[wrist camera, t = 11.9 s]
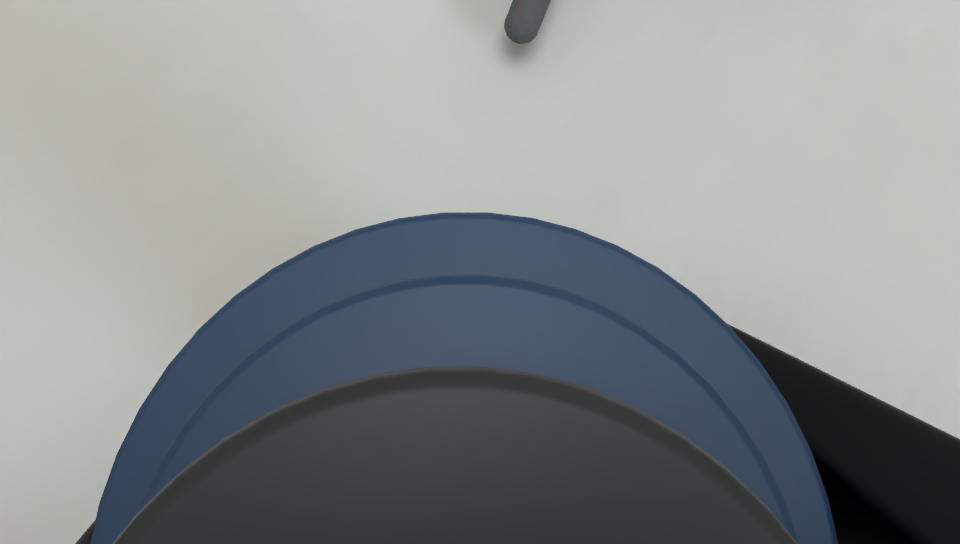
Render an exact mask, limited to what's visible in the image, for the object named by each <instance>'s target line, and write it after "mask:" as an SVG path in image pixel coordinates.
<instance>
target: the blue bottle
mask: <svg viewBox="0 0 960 544" xmlns="http://www.w3.org/2000/svg"><path fill="white" fill-rule="evenodd" d="M90 544H838V540H837V535H836V531H835V526H834V522H833V518H832V513H831V509H830V504H829V500H828V497H827V494H826V491H825V488H824V485H823V483H822V480H821V477H820V474H819V471H818V469H817V466H816V463H815V460H814V457H813V455H812V452H811V449H810V447H809V445H808V443H807V441H806V439H805V437H804V435H803V433H802V431H801V429H800V427H799V425H798V423H797V421H796V419H795V417H794V415H793V413H792V411H791V409H790V407H789V405H788V403H787V402H786V400H785V399H784V397H783V396H782V394H781V393H780V391H779V390H778V388H777V387H776V385H775V384H774V382H773V381H772V379H771V378H770V376H769V375H768V373H767V372H766V370H765V369H764V367H763V365H762V364H761V363H760V361H759V360H758V359H757V358H756V357H755V356H754V354H753V353H752V352H751V351H750V350H749V348H748V347H747V346H746V345H745V344H744V343H743V341H742V340H741V339H740V338H739V337H738V336H737V334H736V333H735V332H734V331H733V330H732V328H731V327H730V326H729V325H728V324H727V323H726V322H724V321H723V320H722V319H721V318H720V317H719V316H718V315H717V314H716V313H715V312H714V311H713V310H711V309H710V308H709V307H708V306H707V305H706V304H705V303H704V302H703V301H702V300H701V299H700V298H698V297H697V296H696V295H695V294H694V293H692V292H691V291H690V290H688V289H687V288H685V287H684V286H683V285H681V284H680V283H678V282H677V281H676V280H674V279H673V278H671V277H670V276H669V275H667V274H666V273H665V272H663V271H662V270H660V269H659V268H658V267H656V266H654V265H652V264H650V263H648V262H647V261H645V260H643V259H641V258H639V257H637V256H636V255H634V254H632V253H630V252H628V251H626V250H625V249H623V248H621V247H619V246H617V245H615V244H612V243H609V242H607V241H604V240H602V239H599V238H597V237H594V236H592V235H589V234H587V233H584V232H581V231H579V230H576V229H573V228H569V227H565V226H561V225H557V224H553V223H549V222H545V221H541V220H538V219H534V218H527V217H519V216H511V215H503V214H495V213H437V214H430V215H422V216H414V217H406V218H399V219H395V220H391V221H387V222H383V223H379V224H376V225H372V226H368V227H364V228H360V229H356V230H353V231H351V232H348V233H346V234H343V235H341V236H338V237H336V238H333V239H331V240H328V241H326V242H323V243H321V244H318V245H316V246H313V247H311V248H309V249H308V250H306V251H304V252H302V253H300V254H299V255H297V256H295V257H293V258H291V259H289V260H288V261H286V262H284V263H282V264H280V265H279V266H277V267H275V268H273V269H272V270H270V271H269V272H267V273H266V274H265V275H263V276H262V277H260V278H259V279H258V280H256V281H255V282H254V283H252V284H251V285H249V286H248V287H247V288H245V289H244V290H242V291H241V292H240V293H238V294H237V295H236V296H234V297H233V298H232V299H231V300H230V301H229V302H228V303H227V304H226V305H224V306H223V307H222V308H221V309H220V310H219V311H218V312H217V313H216V314H215V315H214V316H213V317H212V318H210V319H209V320H208V321H207V322H206V323H205V324H204V325H203V326H202V327H201V328H200V329H199V330H198V331H197V332H196V333H195V335H194V336H193V337H192V338H191V339H190V340H189V342H188V343H187V344H186V345H185V346H184V348H183V349H182V350H181V351H180V352H179V353H178V355H177V356H176V357H175V358H174V359H173V361H172V362H171V363H170V364H169V365H168V367H167V368H166V370H165V371H164V373H163V374H162V376H161V377H160V379H159V380H158V382H157V383H156V385H155V386H154V388H153V389H152V391H151V392H150V394H149V395H148V397H147V398H146V400H145V401H144V403H143V405H142V406H141V408H140V409H139V411H138V413H137V415H136V417H135V419H134V421H133V423H132V425H131V427H130V429H129V431H128V433H127V435H126V437H125V439H124V441H123V443H122V445H121V447H120V449H119V451H118V453H117V456H116V459H115V461H114V464H113V467H112V470H111V473H110V475H109V478H108V481H107V484H106V487H105V489H104V492H103V495H102V498H101V501H100V504H99V508H98V512H97V517H96V521H95V526H94V530H93V534H92V539H91V543H90Z"/></svg>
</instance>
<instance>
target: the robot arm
mask: <svg viewBox="0 0 960 544" xmlns="http://www.w3.org/2000/svg"><path fill="white" fill-rule="evenodd" d="M728 325H729V324H728ZM729 326H730V327H731V328H732V330H733V331H734V332H735V333H736V334H737V336H738V337H739V338H740V339H741V340H742V341H743V343H744V344H745V345H746V346H747V347H748V348H749V350H750V351H751V352H752V353H753V354H754V356H755V357H756V358H757V359H758V360H759V361H760V363H761V364H762V365H763V367H764V369H765V370H766V372H767V373H768V375H769V376H770V378H771V379H772V381H773V382H774V384H775V385H776V387H777V388H778V390H779V391H780V393H781V394H782V396H783V397H784V399H785V400H786V402H787V403H788V405H789V407H790V409H791V411H792V413H793V415H794V417H795V419H796V421H797V423H798V425H799V427H800V429H801V431H802V433H803V435H804V437H805V439H806V441H807V443H808V445H809V447H810V449H811V452H812V455H813V457H814V460H815V463H816V466H817V469H818V471H819V474H820V477H821V480H822V483H823V485H824V488H825V491H826V494H827V497H828V500H829V504H830V509H831V513H832V518H833V522H834V526H835V531H836V535H837V540H838V544H960V439H958V438H956V437H954V436H952V435H950V434H948V433H946V432H944V431H942V430H940V429H938V428H936V427H934V426H932V425H930V424H928V423H926V422H924V421H922V420H920V419H918V418H916V417H914V416H912V415H910V414H908V413H906V412H904V411H902V410H900V409H898V408H896V407H893V406H891V405H889V404H887V403H885V402H883V401H881V400H879V399H877V398H875V397H873V396H871V395H869V394H867V393H865V392H863V391H861V390H859V389H857V388H855V387H853V386H851V385H849V384H847V383H845V382H843V381H841V380H839V379H837V378H835V377H833V376H831V375H829V374H827V373H825V372H823V371H821V370H819V369H817V368H815V367H813V366H811V365H809V364H807V363H805V362H803V361H801V360H799V359H797V358H795V357H793V356H791V355H789V354H787V353H785V352H783V351H781V350H779V349H777V348H775V347H773V346H771V345H769V344H767V343H765V342H763V341H761V340H759V339H757V338H755V337H753V336H751V335H749V334H747V333H745V332H743V331H741V330H739V329H737V328H735V327H733V326H731V325H729ZM95 521H96V520H95ZM95 521H94V522H93V524H92V525H91V526H90V527H89V528H88V529H87V531H86V532H85V533H84V534H83V535H82V537H81V538H80V539H79V540H78V541H77V542H76V544H90V543H91V539H92V534H93V530H94V526H95Z"/></svg>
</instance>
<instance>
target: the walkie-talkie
mask: <svg viewBox="0 0 960 544" xmlns="http://www.w3.org/2000/svg"><path fill="white" fill-rule="evenodd" d="M549 3H550V0H513V2H512V5H511V7H510V9H509V12H508V14H507V17H506V19H505V24H504V27H505V31H506V34H507V36H508V37H509V38H510V39H511V40H512V41H514V42H516V43H519V44H520V43H528V42H530V41H532V40H533V39H534V38H535V37H536V35H537V33H538V30H539V28H540V25H541V23H542V20H543V18H544V15H545V13H546V10H547V8H548V5H549Z"/></svg>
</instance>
